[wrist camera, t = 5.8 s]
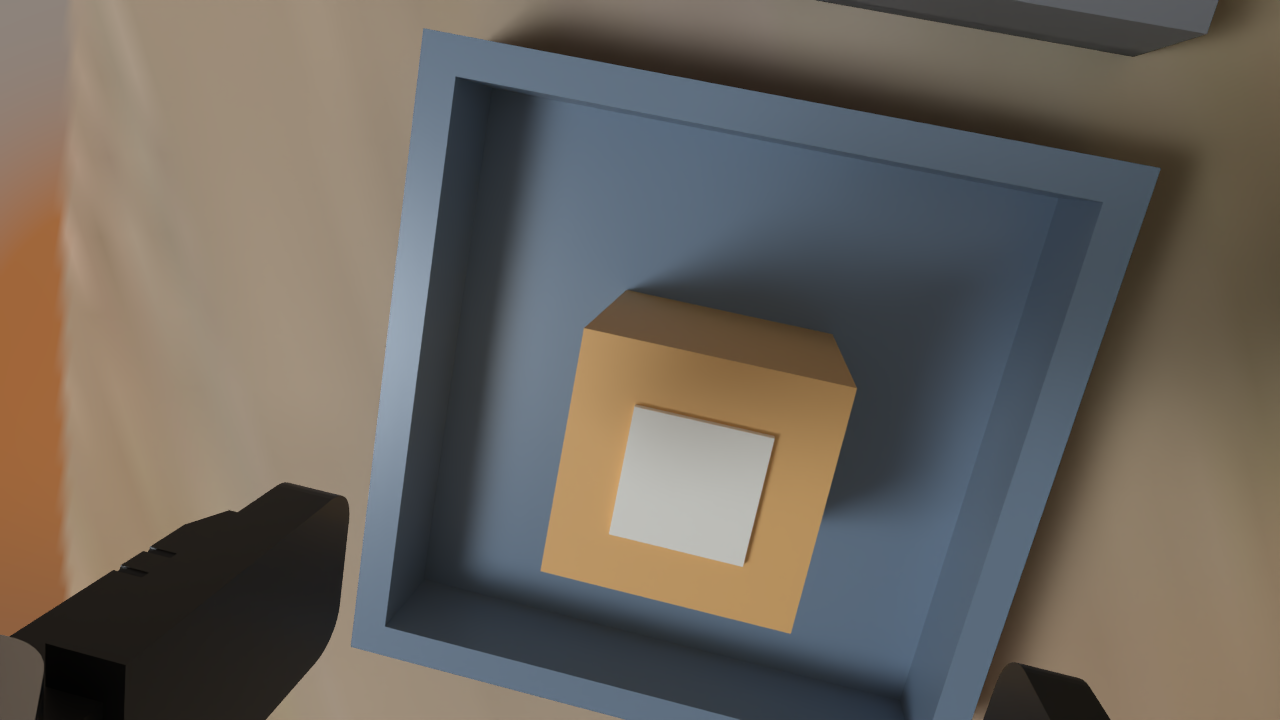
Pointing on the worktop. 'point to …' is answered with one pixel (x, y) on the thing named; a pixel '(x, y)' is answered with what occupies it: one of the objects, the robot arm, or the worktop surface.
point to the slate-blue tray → (748, 285)
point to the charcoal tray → (1067, 19)
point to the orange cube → (698, 458)
